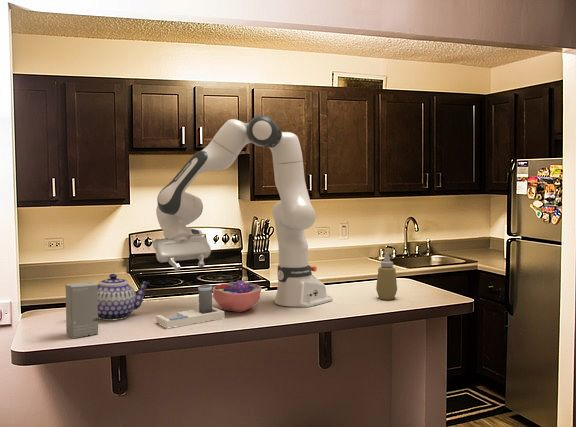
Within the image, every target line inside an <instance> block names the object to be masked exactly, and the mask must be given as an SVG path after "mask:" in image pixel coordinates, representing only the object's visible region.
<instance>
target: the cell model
mask: <svg viewBox="0 0 576 427" xmlns="http://www.w3.org/2000/svg"><path fill="white" fill-rule="evenodd" d="M262 289H263V288H262V287H261V286H260V285H258V284H256V283H255V284H254V283H252V282H251V281H249V282H246V281H244V280H239V279H237V280H236V281H230V282H228V283H227V282H226V283H220V284H218V285H215V286H212V299H214V301H215V302H216V304H218V306H219V307H220V308H221V309H223V311H227V312H234V313H241V312H245V311H247V310H250V309H251V308H253V307H255V306H256V305H257V304H258V302H259V300H260V298H261V292H262Z"/></svg>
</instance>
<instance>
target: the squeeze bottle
mask: <svg viewBox="0 0 576 427" xmlns="http://www.w3.org/2000/svg"><path fill="white" fill-rule="evenodd" d="M396 272H397V270H396V268H395V267H394V261H391V259H390V252H385V253H384V258H383V260H382V261H380V266H379V267H378V269H377V278H376V288H375V290H376V293H377V296H378V298H379V299H380V300H385V301H390V300H394V299H395V297H396V294H397V291H398V284H397V281H398V280H397V273H396Z"/></svg>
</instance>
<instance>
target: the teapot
mask: <svg viewBox="0 0 576 427" xmlns="http://www.w3.org/2000/svg"><path fill="white" fill-rule="evenodd" d="M108 277H109V278H106V279H103V280H100V281H98V282H97V293H98V319H99V318H100V320H101V319H103V320H102V321H114V320H113V319H120V320H122V319H121V318H124V319H126V318H128V317H129V316H130V315H131V314H132V312H133V311H135V310H138V309H139V308H141V306H142V304H143V301H144V297H145V290H146V287H147V286H148V285H149V284H150V283H151V282H149V281H142V282H141V284H140V285H139V287H138V290H135V289H134V288H133V287H132V285H130V284H129V282H128V280H127V279H124V278H117V277H118V275H117V274H116V273H111V274H109V276H108ZM127 316H128V317H127ZM125 317H126V318H125Z"/></svg>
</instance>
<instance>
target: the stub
mask: <svg viewBox="0 0 576 427" xmlns="http://www.w3.org/2000/svg"><path fill="white" fill-rule="evenodd" d="M197 289H198V312H199V313H202V314H205V313H211V312H212V307H213V285H212V284H201V285H200V284H199V285H198V288H197Z"/></svg>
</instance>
